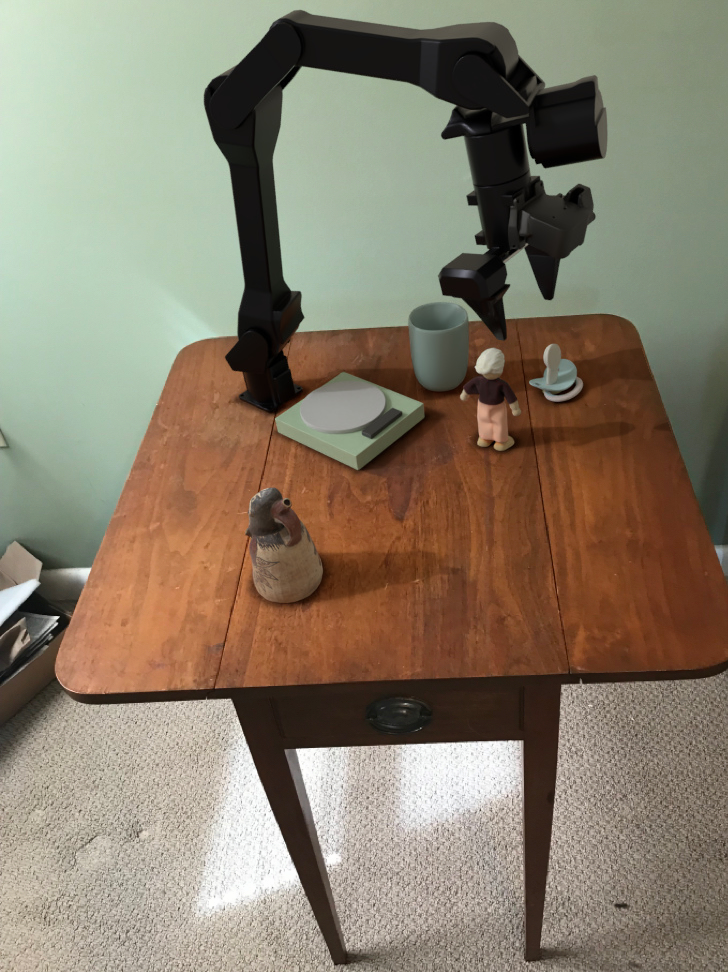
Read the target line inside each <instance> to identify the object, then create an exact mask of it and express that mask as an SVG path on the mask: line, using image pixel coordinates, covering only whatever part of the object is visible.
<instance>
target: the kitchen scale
mask: <svg viewBox="0 0 728 972" xmlns="http://www.w3.org/2000/svg"><path fill="white" fill-rule="evenodd" d="M424 418H425V406H424V402H421V401H418V400H416V399H414V398H411V397H408V396H406V395H403V394H401V393H398V392H396V391H393V390H391V389H389V388H386V387H383V386H380V385H378V384H376V383H373V382H371V381H369V380H366V379H363V378H360V377H358V376H355V375H353V374H352V373H351V374H350V373H348V372H345V371H342V372H340V373H339V374H338V375H335V377H333V378H332V379H330V380H329V381H327V382H326V383H324V384H322V385H321V386H320V387H317V388H316V389H314V390H312V391H311V392H309V393H308V394H307V395H306V396H305V397H304V398H303V399H301V400H300V401H298V402H297V403H295V404H294V405H292V406H291V407H289V408H288V409H287V410H285V411H284V412H283V413H281V414H279V415H278V416H276V417H275V418H274V421H275V425H276V429H277V433H278V434H281V435H283V436H285V437H287V438H289V439H291V440H293V441H296V442H297V443H300V444H302V445H303V446H305V447H308V448H310V449H312V450H315V451H316V452H319V453H320V454H323V455H325V456H327V457H329V458H330V459H331V458H332V459H333V460H335V461H338V462H340V463H341V464H344V465H346V466H348V467H350V468H352V469H354V470H356V471H360V470H361V469H362V468H363V467H365V466H366V465H367V464H369V462H371V461H372V460H373V459H374V458H376V457H377V456H378V455H380V454H381V453H382V452H384V451H385V450H386V449H388V448H389V447H390V446H391V445H392V444H393V443H394V442H396V441H397V440H398V439H400V438H401V437H402V436H404V435H405V434H406V433H407V432H408V431H410V430H411V429H412V428H413V427H415V426H416V425H417V424H418V423H420V422H421V421H422V420H423V419H424Z"/></svg>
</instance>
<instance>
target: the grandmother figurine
mask: <svg viewBox="0 0 728 972" xmlns="http://www.w3.org/2000/svg"><path fill="white" fill-rule="evenodd" d="M505 363H506V360H505V354H504V353H503V351H502V350H501V349H498V348H496V347H490V348H486V349H485V350H484V351H482V352H481V353H480V354H479V357H478V358H477V360H476V364H475V366H474V368H475V371H476V373H477V374H479V375H478V376H475V377H473V378H472V379H470V380H469V381H467V382H466V383H465V384H464V385H463V387H462V388H463V390H462V392H461V394H460V396H459V398H460V400H461V401H463V402H467V401H468V400H469V398H470V396H472V395H479V396H478V399H477V417H476V418H477V427H478V429H477V430H478V435H479V437H478V439H477V446H478V447H481V448H487V447H489V446H490V445H491V444H492V443H493V442H494V441H495V443H494V444H493V449H494V450H496V451H498V452H504V451H506V450H507V449H509V448H511V447H512V446H513V445H514V444H515V440H514V438H513V437H512V436H510V435H509V428H508V427H509V426H508V409H507V404H508V405H509V408H510V409H511V413H512V415H513V416H514V417H519V416H521V414H522V410H521V408H520V404H519V401H518V397H517V395H516V393H515V391H514V390H513V389H512V386H511V385H510V383H509V382H508V381H507V380H504V379H502V378H501V376H502V375H503V372H504V367H505ZM506 402H507V404H506Z"/></svg>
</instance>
